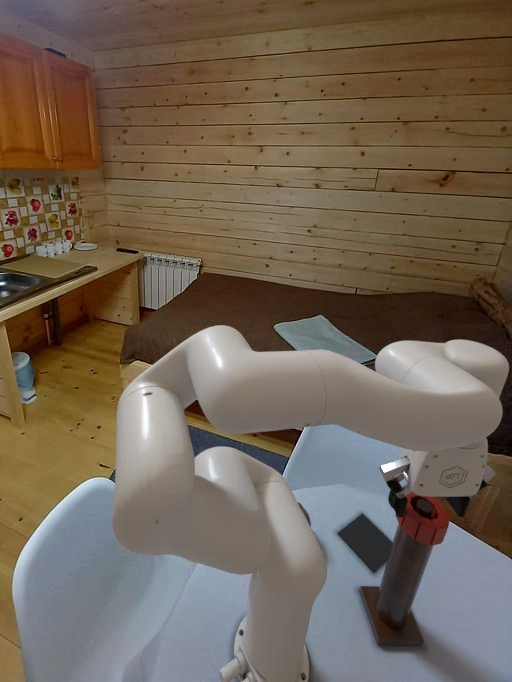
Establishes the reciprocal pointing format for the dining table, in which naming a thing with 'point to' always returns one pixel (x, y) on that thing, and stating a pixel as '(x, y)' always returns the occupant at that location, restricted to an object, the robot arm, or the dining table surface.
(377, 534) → the felt mat
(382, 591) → the ring holder
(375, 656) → the dining table surface
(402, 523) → the ring
